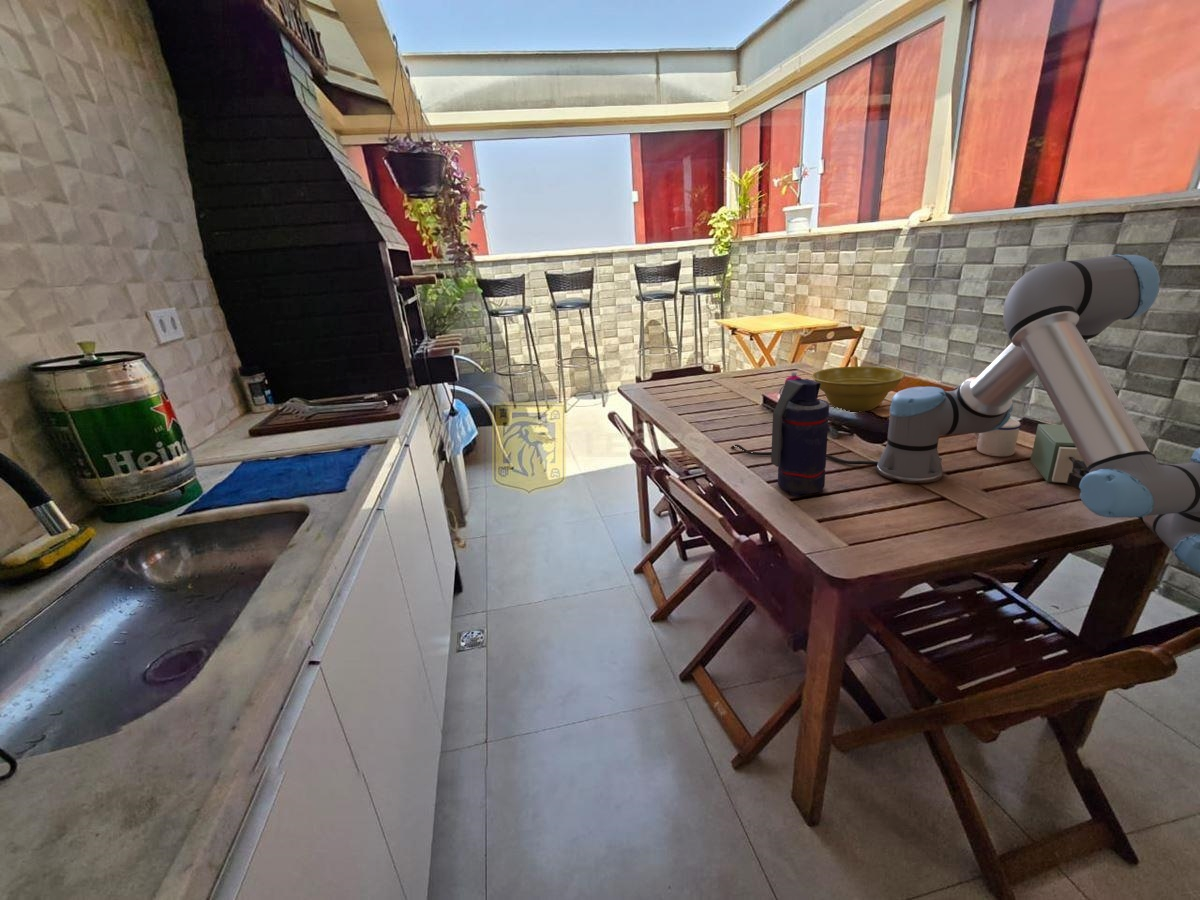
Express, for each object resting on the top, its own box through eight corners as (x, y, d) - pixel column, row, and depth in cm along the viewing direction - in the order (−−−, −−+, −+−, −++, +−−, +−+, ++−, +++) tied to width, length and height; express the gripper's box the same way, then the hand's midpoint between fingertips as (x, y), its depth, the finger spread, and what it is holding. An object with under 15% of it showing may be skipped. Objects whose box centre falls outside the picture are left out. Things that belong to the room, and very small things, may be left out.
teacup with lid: (1023, 453, 139) (1031, 414, 135) (998, 459, 137) (1006, 420, 133) (982, 441, 150) (988, 404, 146) (958, 446, 148) (964, 409, 144)
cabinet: (1115, 486, 117) (1127, 445, 113) (1046, 481, 122) (1056, 442, 119) (1091, 463, 129) (1101, 425, 125) (1030, 460, 134) (1038, 423, 131)
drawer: (1125, 494, 111) (1135, 459, 108) (1059, 489, 116) (1067, 455, 113) (1093, 464, 126) (1102, 432, 123) (1036, 461, 131) (1043, 430, 128)
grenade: (808, 476, 140) (812, 373, 129) (833, 493, 129) (841, 381, 118) (763, 484, 138) (764, 380, 128) (785, 502, 127) (788, 389, 117)
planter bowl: (820, 394, 215) (822, 364, 211) (905, 399, 197) (909, 366, 192) (801, 415, 191) (802, 381, 187) (896, 422, 173) (900, 385, 168)
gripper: (1072, 523, 93) (1038, 479, 110) (1269, 542, 82) (1197, 490, 99) (1081, 487, 90) (1045, 448, 108) (1286, 502, 79) (1209, 455, 97)
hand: (1118, 468), depth 104 cm, fingers open, 13 cm apart
